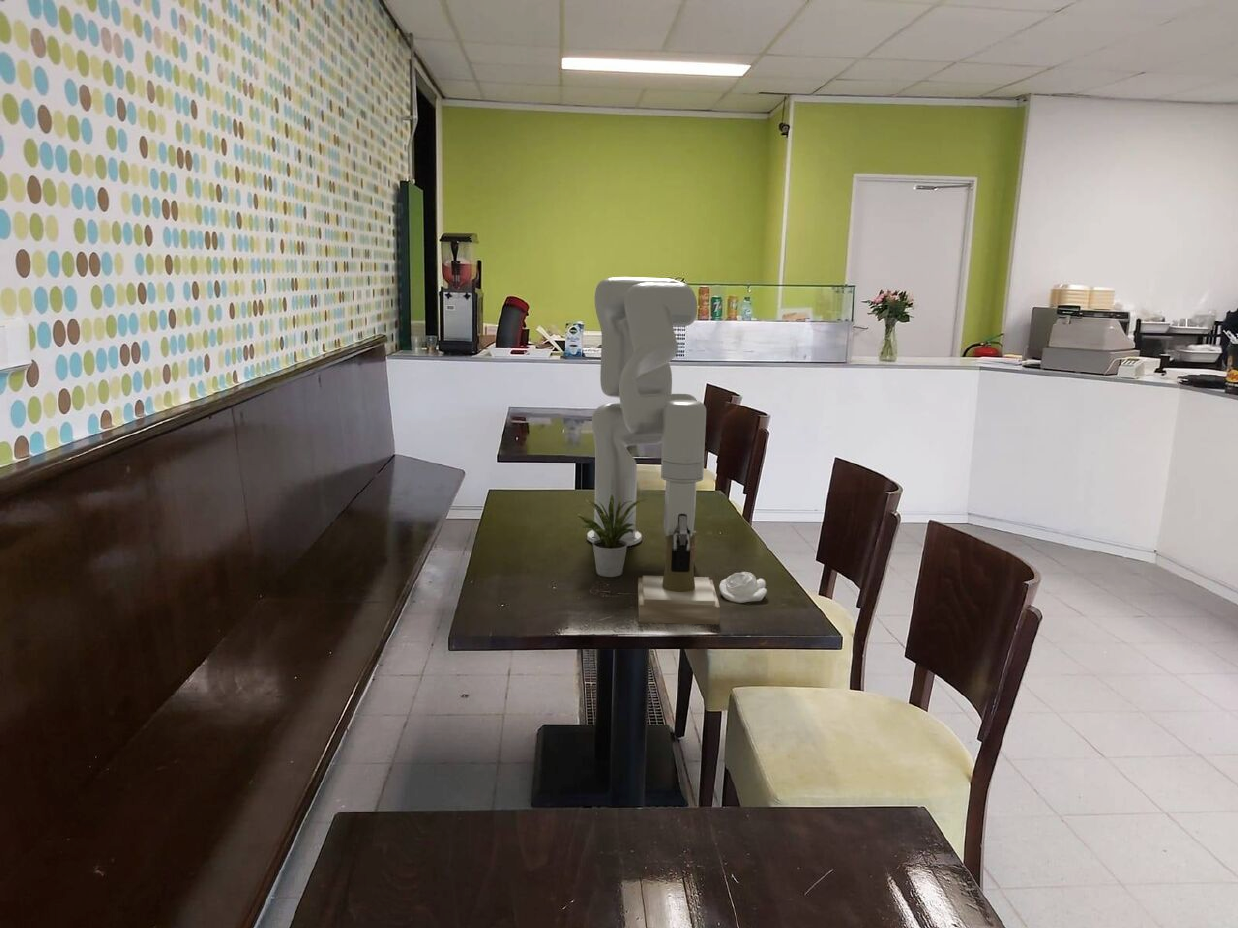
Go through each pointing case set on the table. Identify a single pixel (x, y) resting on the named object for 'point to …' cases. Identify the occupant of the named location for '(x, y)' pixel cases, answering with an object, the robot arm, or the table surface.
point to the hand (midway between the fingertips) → (678, 562)
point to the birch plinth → (677, 602)
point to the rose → (743, 588)
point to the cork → (678, 579)
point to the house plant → (609, 538)
